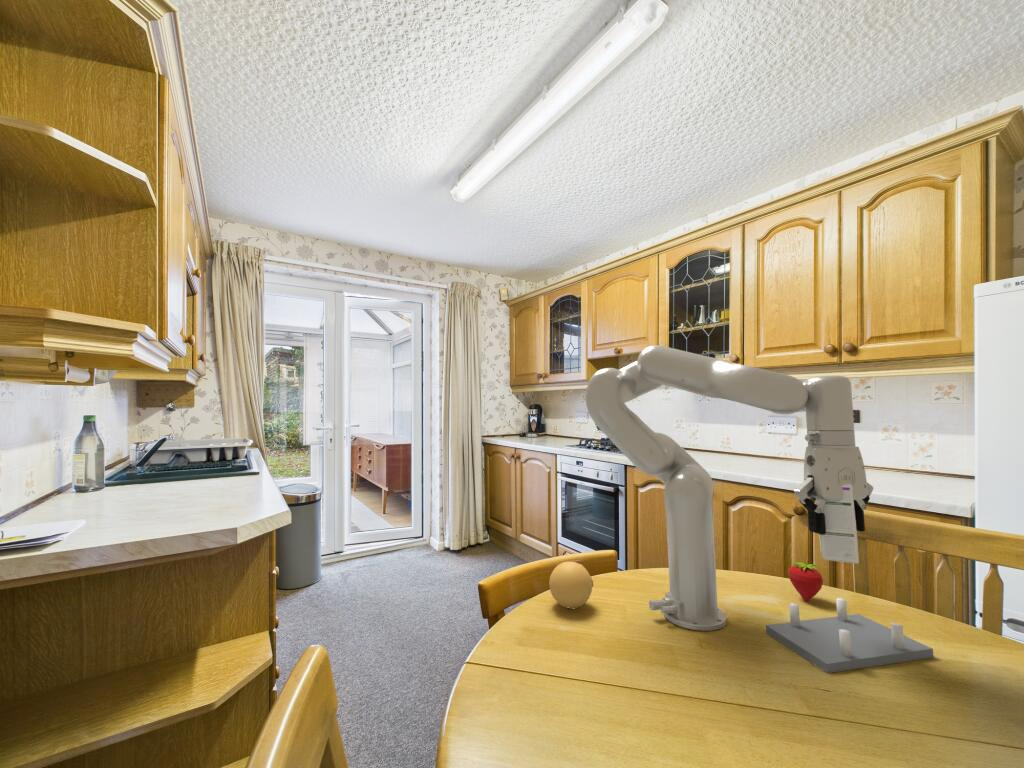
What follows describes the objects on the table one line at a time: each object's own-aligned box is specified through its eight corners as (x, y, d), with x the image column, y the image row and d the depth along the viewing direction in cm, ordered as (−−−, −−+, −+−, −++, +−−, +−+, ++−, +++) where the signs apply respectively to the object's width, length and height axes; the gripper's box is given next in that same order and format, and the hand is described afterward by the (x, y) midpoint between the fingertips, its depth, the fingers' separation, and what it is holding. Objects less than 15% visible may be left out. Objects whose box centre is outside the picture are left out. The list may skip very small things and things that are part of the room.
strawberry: (803, 592, 107) (800, 550, 108) (832, 605, 100) (829, 560, 100) (782, 595, 106) (780, 552, 106) (810, 608, 98) (807, 562, 99)
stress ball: (577, 623, 96) (607, 588, 99) (546, 589, 96) (577, 554, 99) (564, 611, 105) (592, 579, 108) (536, 580, 106) (564, 549, 109)
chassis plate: (827, 672, 74) (825, 639, 75) (765, 632, 88) (764, 604, 89) (933, 657, 78) (930, 625, 79) (858, 621, 92) (856, 594, 92)
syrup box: (860, 564, 80) (854, 483, 81) (820, 559, 84) (815, 481, 84) (856, 555, 85) (850, 479, 86) (818, 551, 88) (814, 477, 89)
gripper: (808, 442, 81) (814, 540, 79) (887, 439, 84) (894, 533, 83) (776, 439, 88) (782, 529, 87) (850, 437, 91) (856, 523, 90)
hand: (836, 530), depth 85 cm, fingers closed on syrup box, 8 cm apart
